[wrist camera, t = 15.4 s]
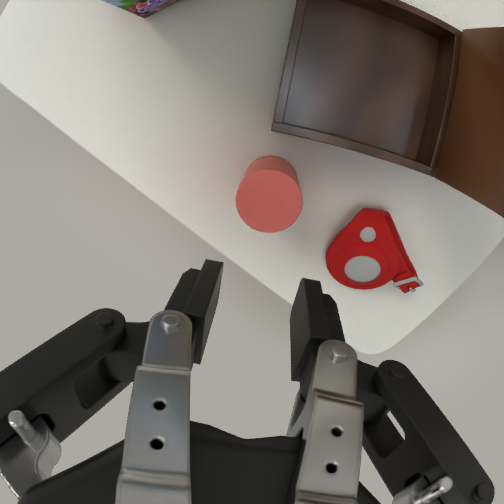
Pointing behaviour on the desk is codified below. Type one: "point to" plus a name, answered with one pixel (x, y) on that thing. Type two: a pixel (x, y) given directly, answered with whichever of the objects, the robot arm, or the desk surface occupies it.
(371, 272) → the red rounded piece
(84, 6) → the desk surface
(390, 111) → the chest
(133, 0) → the snack box
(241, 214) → the pink cylinder
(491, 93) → the lid
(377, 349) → the desk surface
